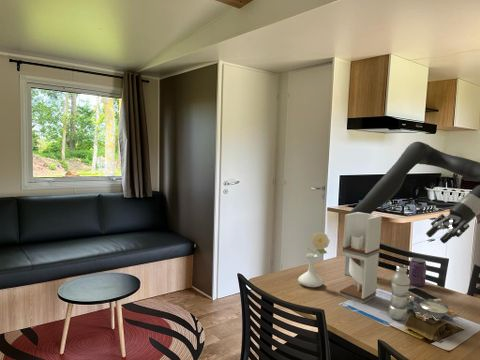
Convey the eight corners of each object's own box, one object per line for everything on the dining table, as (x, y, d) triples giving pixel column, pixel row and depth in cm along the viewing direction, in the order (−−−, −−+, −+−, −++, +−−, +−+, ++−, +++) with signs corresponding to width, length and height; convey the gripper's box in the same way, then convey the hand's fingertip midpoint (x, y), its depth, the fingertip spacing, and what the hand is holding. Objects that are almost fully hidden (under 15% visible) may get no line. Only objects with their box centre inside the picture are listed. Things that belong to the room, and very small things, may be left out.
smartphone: (414, 286, 163) (442, 299, 149) (414, 287, 163) (442, 301, 149) (401, 287, 161) (429, 301, 147) (401, 289, 161) (429, 303, 147)
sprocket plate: (401, 315, 134) (402, 303, 134) (399, 296, 151) (399, 286, 151) (458, 325, 127) (459, 314, 127) (449, 305, 144) (450, 294, 144)
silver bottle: (405, 316, 133) (410, 264, 131) (408, 324, 127) (412, 270, 125) (387, 312, 135) (391, 262, 134) (388, 320, 129) (393, 267, 127)
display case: (352, 288, 158) (358, 212, 155) (375, 296, 151) (381, 216, 148) (339, 295, 150) (345, 214, 147) (363, 303, 143) (369, 219, 140)
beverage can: (420, 282, 170) (423, 258, 168) (427, 287, 163) (429, 262, 161) (405, 281, 170) (407, 257, 169) (411, 286, 163) (413, 261, 162)
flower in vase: (295, 286, 158) (298, 232, 155) (300, 278, 168) (303, 227, 166) (324, 292, 153) (328, 235, 151) (328, 283, 163) (331, 230, 161)
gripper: (448, 198, 137) (417, 227, 137) (474, 204, 123) (440, 236, 123) (460, 212, 138) (429, 240, 138) (487, 219, 123) (453, 251, 124)
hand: (434, 238), depth 130 cm, fingers open, 8 cm apart
